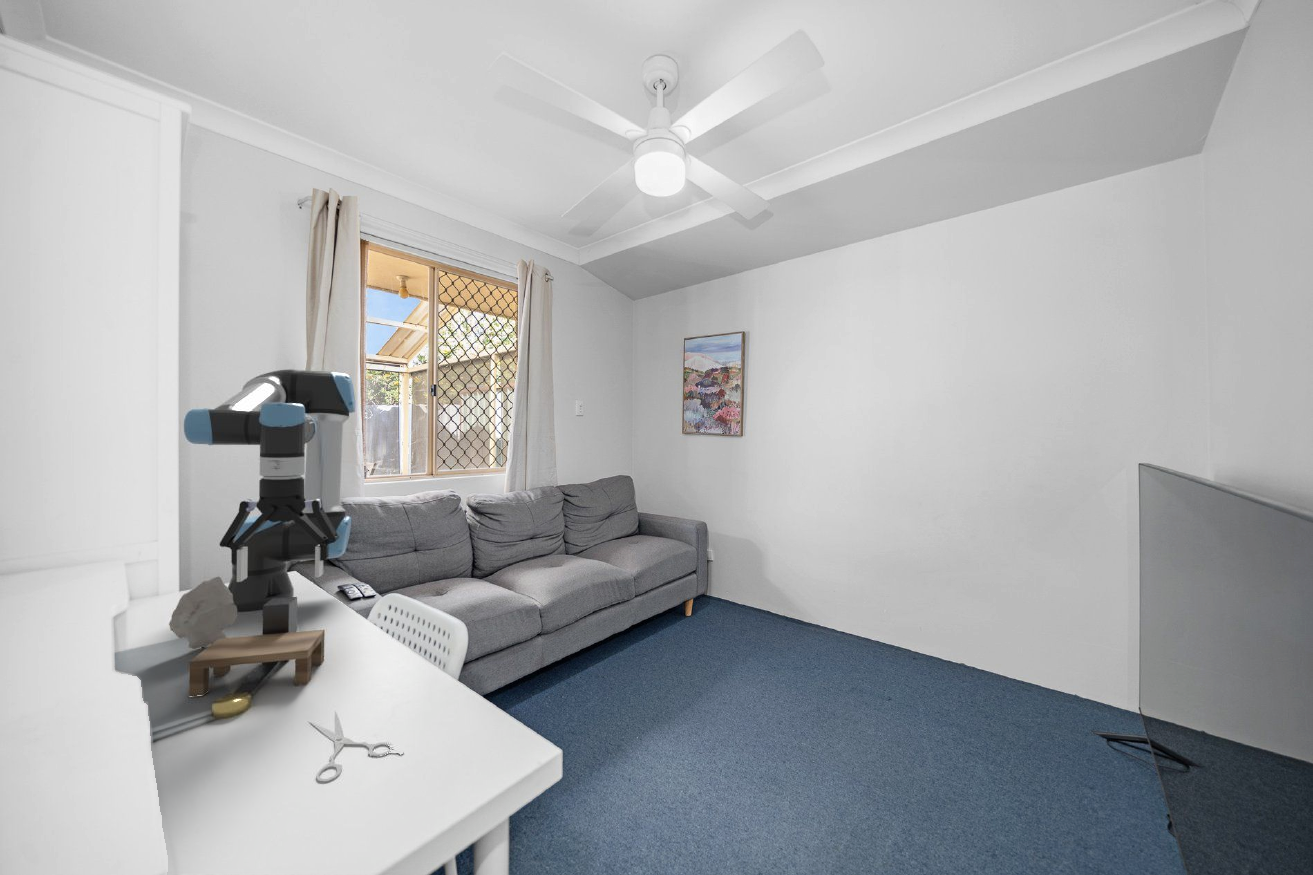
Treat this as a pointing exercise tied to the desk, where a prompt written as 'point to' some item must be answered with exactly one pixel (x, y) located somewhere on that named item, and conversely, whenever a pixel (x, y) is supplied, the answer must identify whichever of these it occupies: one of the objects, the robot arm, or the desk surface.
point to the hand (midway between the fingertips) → (281, 577)
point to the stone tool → (204, 613)
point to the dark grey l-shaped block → (275, 620)
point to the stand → (257, 655)
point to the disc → (231, 705)
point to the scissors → (339, 744)
